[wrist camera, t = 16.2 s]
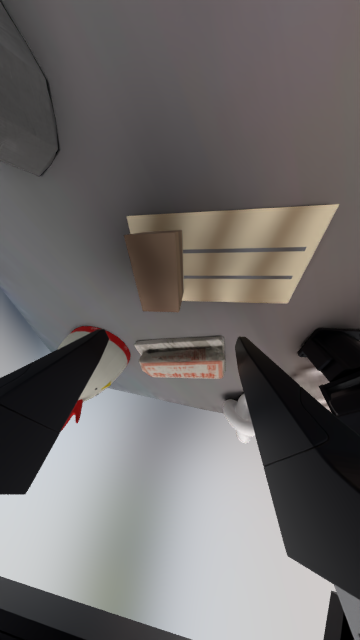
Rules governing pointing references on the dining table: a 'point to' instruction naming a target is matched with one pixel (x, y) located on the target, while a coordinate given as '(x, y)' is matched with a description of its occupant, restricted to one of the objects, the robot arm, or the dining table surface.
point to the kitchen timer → (100, 366)
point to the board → (243, 250)
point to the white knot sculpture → (239, 418)
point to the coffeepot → (23, 105)
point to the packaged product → (183, 357)
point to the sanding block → (158, 268)
